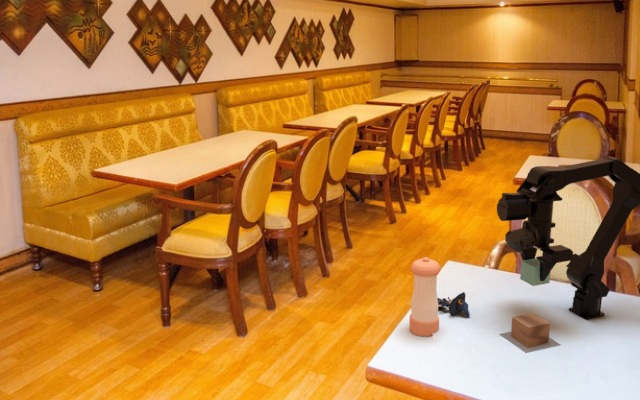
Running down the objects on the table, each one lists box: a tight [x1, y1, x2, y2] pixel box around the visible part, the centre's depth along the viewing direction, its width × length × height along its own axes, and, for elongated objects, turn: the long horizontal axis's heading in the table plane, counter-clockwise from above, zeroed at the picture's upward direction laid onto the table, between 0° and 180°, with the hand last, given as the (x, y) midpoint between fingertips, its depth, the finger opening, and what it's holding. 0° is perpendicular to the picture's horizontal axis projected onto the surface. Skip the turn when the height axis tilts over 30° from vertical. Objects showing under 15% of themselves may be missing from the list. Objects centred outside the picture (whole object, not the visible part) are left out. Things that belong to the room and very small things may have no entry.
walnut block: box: [510, 312, 551, 347], centre depth 144 cm, size 6×6×5 cm
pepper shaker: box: [408, 256, 441, 337], centre depth 149 cm, size 7×7×19 cm
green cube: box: [519, 257, 551, 287], centre depth 154 cm, size 5×5×5 cm
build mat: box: [498, 331, 562, 354], centre depth 145 cm, size 10×10×1 cm
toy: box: [437, 291, 471, 319], centre depth 162 cm, size 8×7×15 cm
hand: (535, 277), depth 154 cm, fingers closed on green cube, 5 cm apart
